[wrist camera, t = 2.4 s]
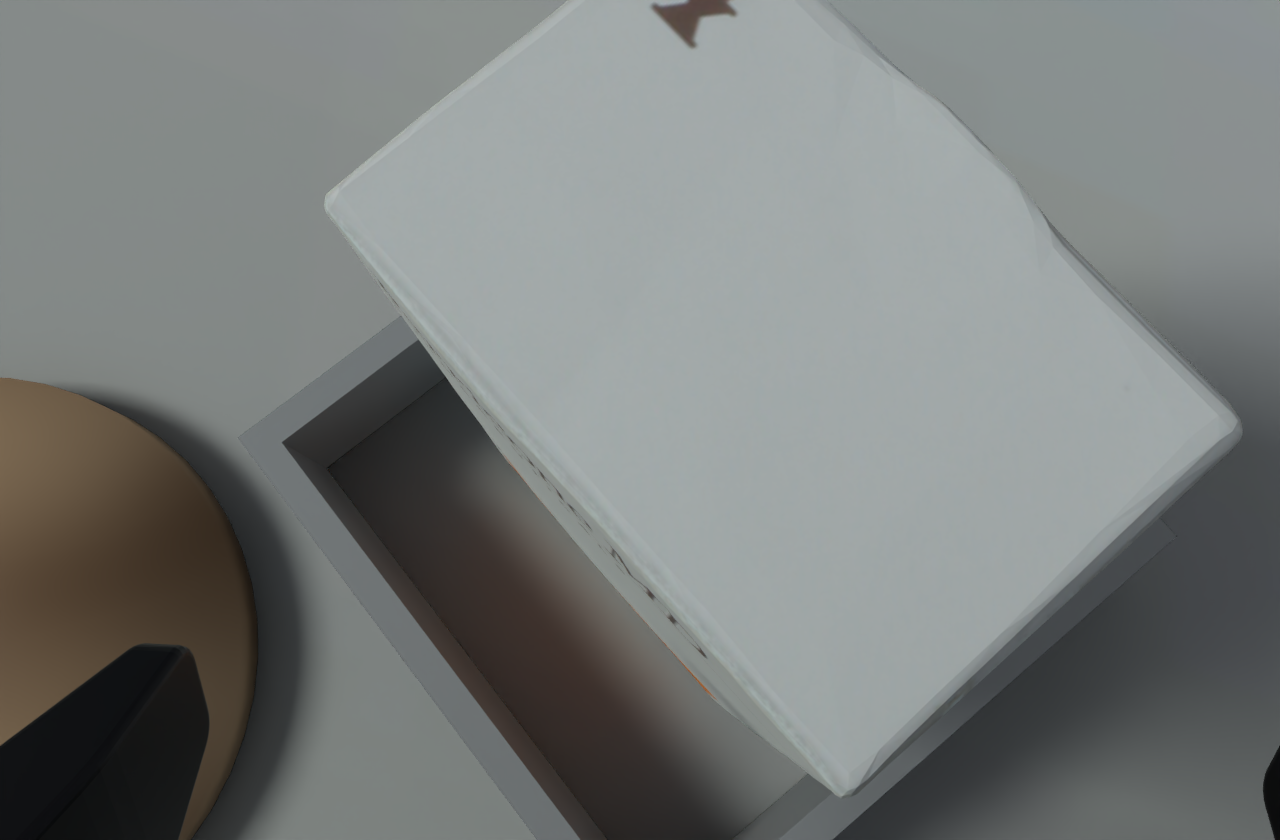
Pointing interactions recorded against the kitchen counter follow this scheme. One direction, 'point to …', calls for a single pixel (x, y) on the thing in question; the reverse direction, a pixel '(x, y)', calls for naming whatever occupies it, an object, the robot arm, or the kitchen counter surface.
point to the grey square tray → (566, 835)
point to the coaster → (115, 568)
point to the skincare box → (781, 356)
